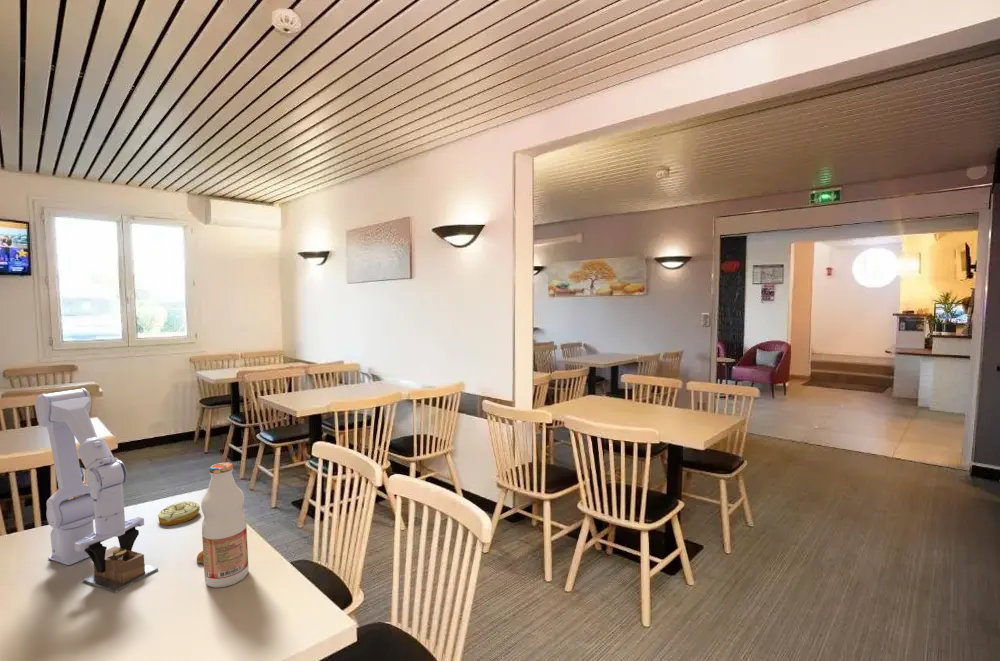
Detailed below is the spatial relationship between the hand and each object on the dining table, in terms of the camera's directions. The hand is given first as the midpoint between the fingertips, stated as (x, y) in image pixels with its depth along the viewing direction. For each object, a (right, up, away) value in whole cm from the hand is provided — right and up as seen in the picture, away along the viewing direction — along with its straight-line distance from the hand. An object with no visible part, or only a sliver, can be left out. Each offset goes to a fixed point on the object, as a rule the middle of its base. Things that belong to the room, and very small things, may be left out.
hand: (113, 565), depth 123 cm
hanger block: (+2, -2, -1) cm, 3 cm away
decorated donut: (-3, 0, +30) cm, 31 cm away
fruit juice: (+29, -2, -2) cm, 29 cm away
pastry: (+22, -2, +8) cm, 24 cm away
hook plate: (+3, -2, -1) cm, 3 cm away
